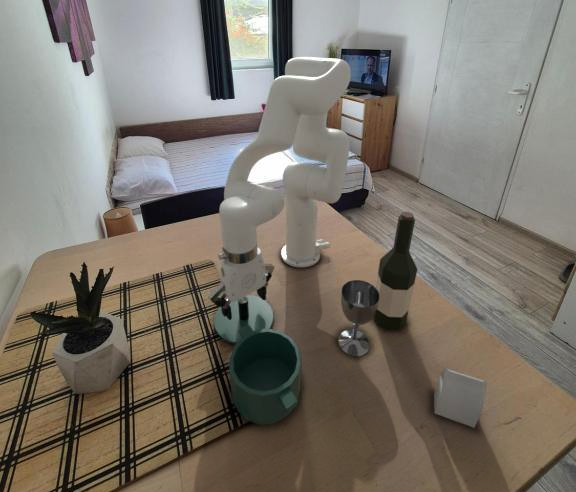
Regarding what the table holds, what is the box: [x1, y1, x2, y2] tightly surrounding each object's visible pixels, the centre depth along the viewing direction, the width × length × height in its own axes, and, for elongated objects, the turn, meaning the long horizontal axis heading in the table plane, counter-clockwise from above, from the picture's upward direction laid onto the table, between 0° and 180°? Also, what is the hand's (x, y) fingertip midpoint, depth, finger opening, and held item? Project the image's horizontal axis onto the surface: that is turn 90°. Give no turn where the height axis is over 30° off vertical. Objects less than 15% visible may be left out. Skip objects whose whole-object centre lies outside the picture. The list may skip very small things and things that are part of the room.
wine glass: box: [338, 279, 379, 358], centre depth 72 cm, size 8×8×15 cm
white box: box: [433, 368, 488, 429], centre depth 60 cm, size 4×7×10 cm, turn 69°
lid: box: [213, 294, 274, 345], centre depth 79 cm, size 15×15×7 cm
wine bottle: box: [373, 211, 418, 331], centre depth 76 cm, size 8×8×30 cm
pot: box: [228, 325, 302, 426], centre depth 64 cm, size 14×19×8 cm
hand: (245, 306), depth 80 cm, fingers open, 9 cm apart
